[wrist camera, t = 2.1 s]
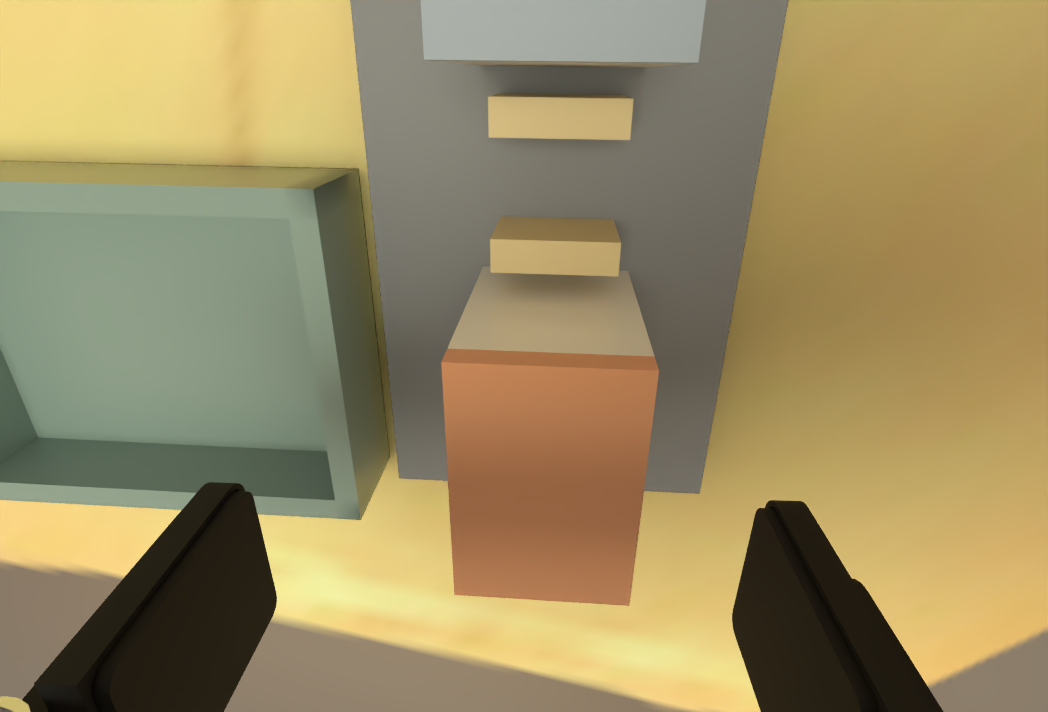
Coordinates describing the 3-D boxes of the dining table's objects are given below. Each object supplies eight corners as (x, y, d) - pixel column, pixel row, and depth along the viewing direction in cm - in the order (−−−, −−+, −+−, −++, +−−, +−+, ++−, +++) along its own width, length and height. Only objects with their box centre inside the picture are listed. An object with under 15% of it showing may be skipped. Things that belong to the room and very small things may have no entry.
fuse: (628, 270, 16) (659, 370, 11) (611, 451, 19) (629, 605, 13) (483, 266, 16) (441, 362, 11) (486, 445, 19) (454, 594, 13)
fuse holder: (837, -364, 11) (1183, -925, 5) (693, 474, 20) (751, 659, 14) (330, -350, 12) (59, -838, 5) (406, 460, 20) (335, 631, 14)
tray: (358, 168, 16) (313, 188, 13) (389, 457, 20) (360, 520, 18) (-74, 159, 17) (-205, 176, 14) (44, 440, 21) (-38, 497, 18)
